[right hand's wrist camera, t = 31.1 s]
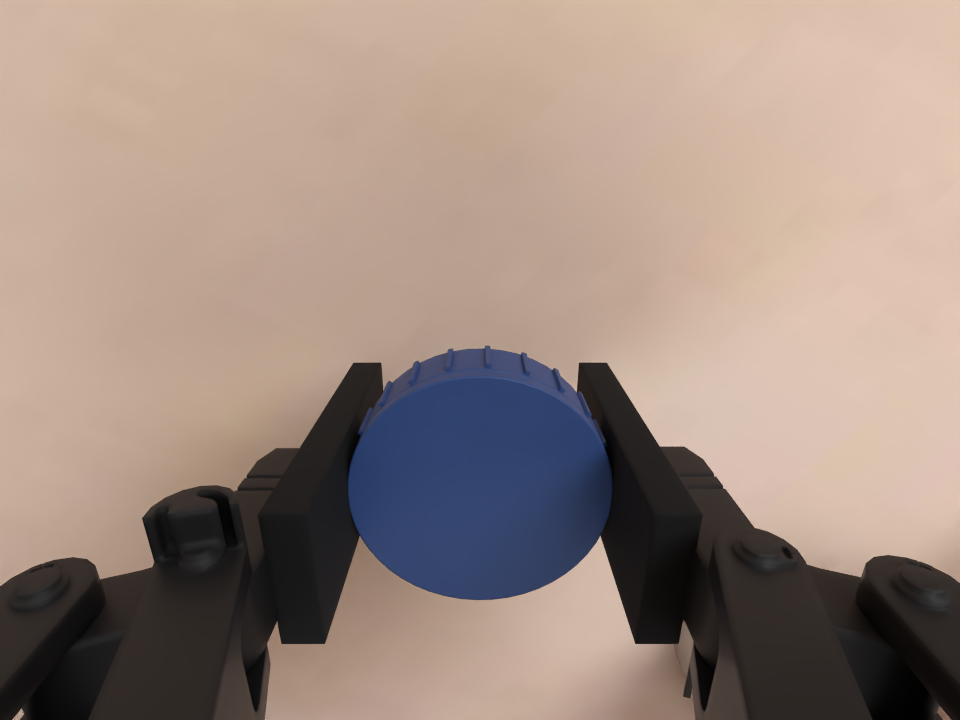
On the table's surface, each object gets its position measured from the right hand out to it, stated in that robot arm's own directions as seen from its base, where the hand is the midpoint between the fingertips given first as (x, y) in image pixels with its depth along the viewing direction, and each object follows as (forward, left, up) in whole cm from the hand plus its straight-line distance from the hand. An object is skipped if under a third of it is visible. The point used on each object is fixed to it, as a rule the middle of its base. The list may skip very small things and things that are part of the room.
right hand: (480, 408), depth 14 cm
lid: (0, 0, +4) cm, 4 cm away
